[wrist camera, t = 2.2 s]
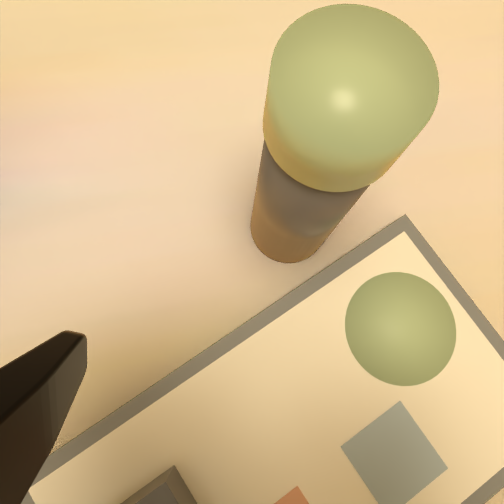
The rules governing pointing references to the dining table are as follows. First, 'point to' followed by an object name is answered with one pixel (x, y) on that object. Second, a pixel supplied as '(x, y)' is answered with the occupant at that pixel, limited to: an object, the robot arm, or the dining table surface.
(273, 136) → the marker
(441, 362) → the colouring board
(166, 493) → the button housing
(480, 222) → the dining table surface
